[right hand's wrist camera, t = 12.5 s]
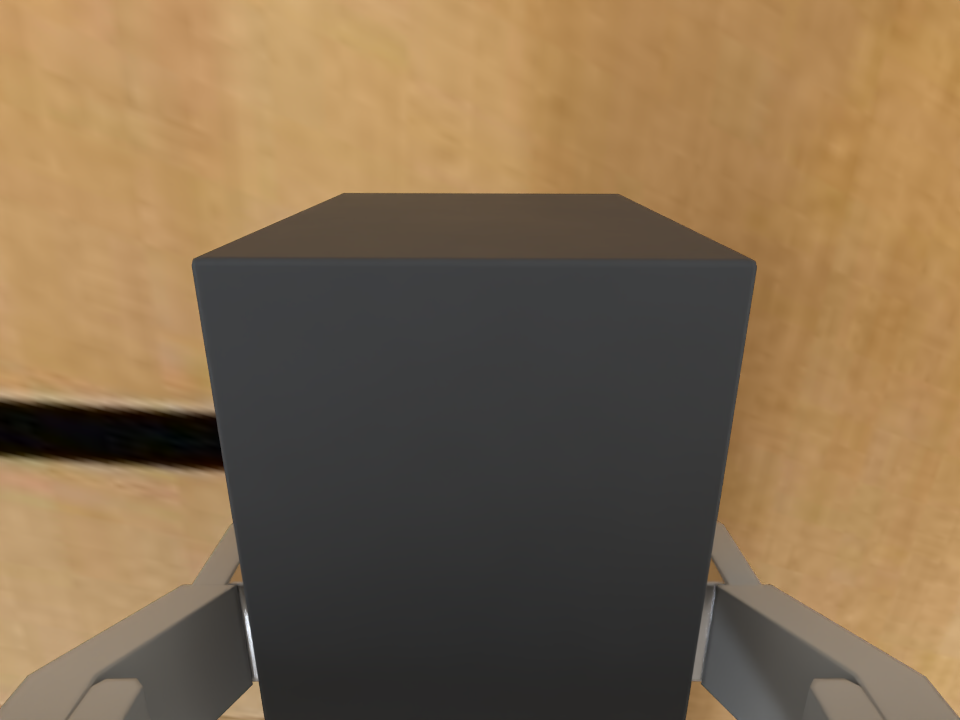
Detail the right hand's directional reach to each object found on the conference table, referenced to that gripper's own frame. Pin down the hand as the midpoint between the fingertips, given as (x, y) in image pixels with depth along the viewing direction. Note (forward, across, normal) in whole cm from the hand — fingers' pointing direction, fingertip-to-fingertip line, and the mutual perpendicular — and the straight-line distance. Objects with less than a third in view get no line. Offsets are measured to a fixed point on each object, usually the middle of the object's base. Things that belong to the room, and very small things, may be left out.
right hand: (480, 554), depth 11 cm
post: (+3, 0, -26) cm, 26 cm away
